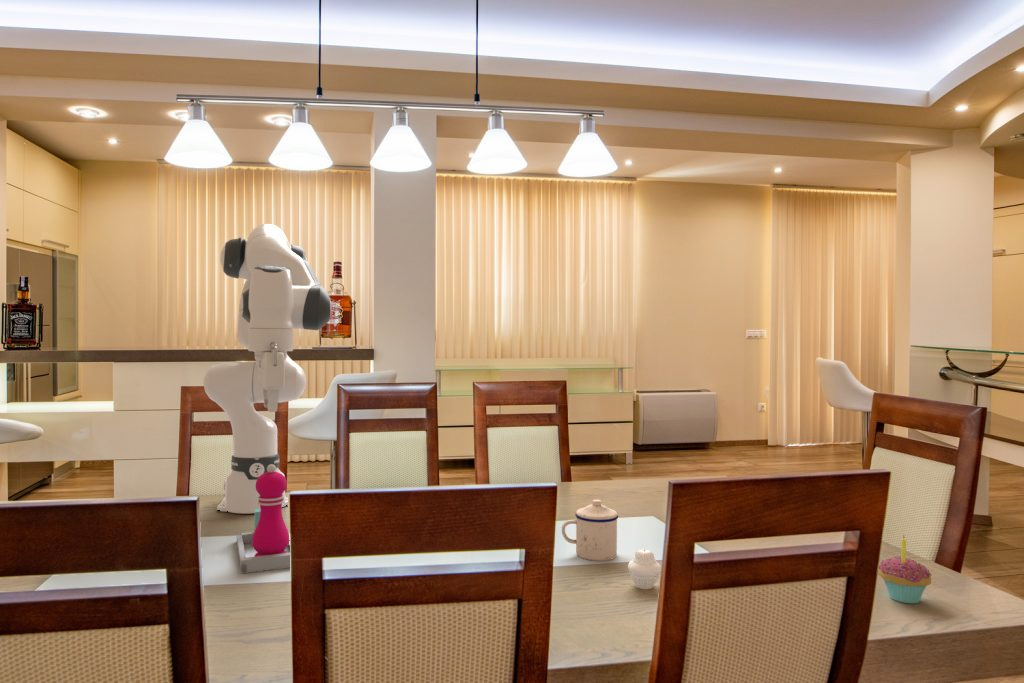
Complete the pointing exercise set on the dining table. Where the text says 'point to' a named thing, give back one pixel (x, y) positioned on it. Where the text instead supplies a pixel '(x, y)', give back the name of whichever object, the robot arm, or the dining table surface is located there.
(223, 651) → the dining table surface
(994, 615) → the dining table surface
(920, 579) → the cupcake
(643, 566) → the small white lidded pot
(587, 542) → the teacup with lid
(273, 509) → the pepper mill
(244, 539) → the grey rectangular frame
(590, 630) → the dining table surface
